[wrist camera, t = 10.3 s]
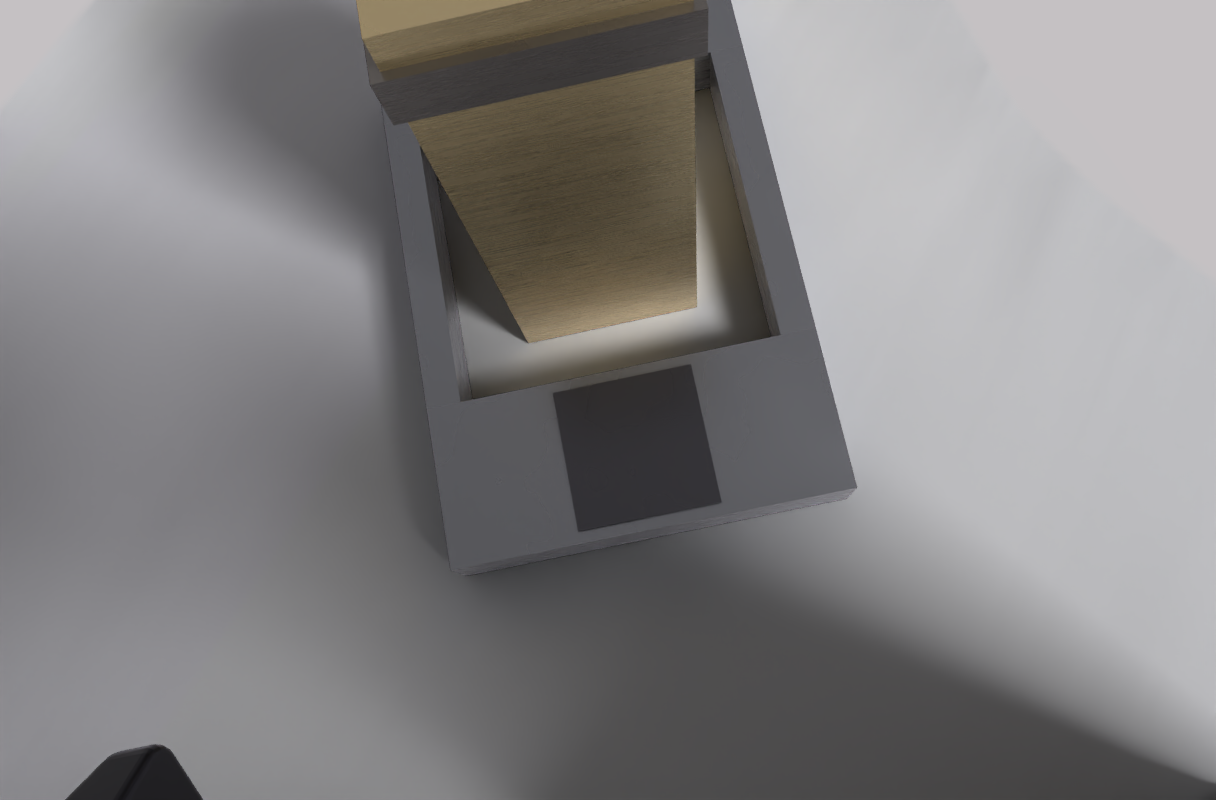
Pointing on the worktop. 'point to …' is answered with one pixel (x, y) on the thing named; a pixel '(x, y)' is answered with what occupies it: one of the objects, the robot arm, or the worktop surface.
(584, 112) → the post
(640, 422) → the rail plate
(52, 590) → the worktop surface
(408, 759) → the worktop surface
